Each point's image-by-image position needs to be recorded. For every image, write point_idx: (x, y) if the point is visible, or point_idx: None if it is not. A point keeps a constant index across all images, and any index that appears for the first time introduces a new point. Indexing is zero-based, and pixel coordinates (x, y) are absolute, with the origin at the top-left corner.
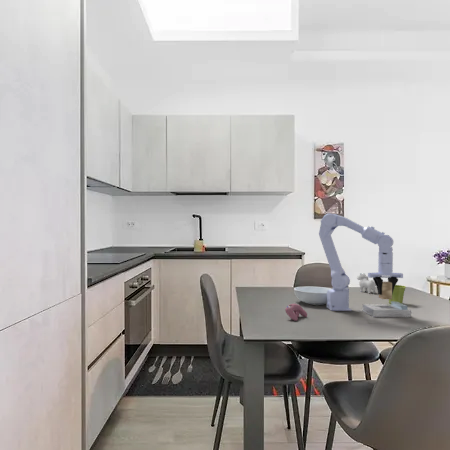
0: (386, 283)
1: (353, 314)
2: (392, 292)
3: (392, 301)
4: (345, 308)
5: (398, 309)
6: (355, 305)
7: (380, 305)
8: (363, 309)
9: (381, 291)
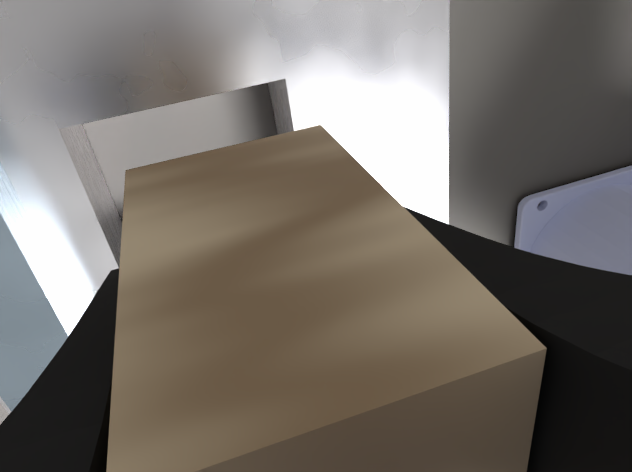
0: (372, 385)
1: (565, 39)
2: (100, 293)
3: None
4: (584, 202)
5: (15, 50)
6: None
7: None
8: None
9: None
